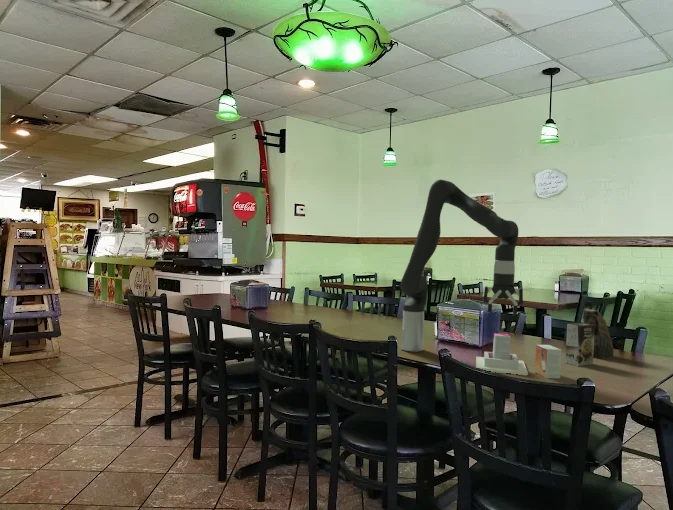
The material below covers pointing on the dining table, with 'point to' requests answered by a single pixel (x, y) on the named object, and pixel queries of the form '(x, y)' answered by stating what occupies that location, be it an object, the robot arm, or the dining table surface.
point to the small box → (548, 361)
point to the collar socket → (501, 364)
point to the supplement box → (501, 346)
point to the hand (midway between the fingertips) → (502, 314)
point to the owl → (599, 334)
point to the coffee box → (580, 344)
